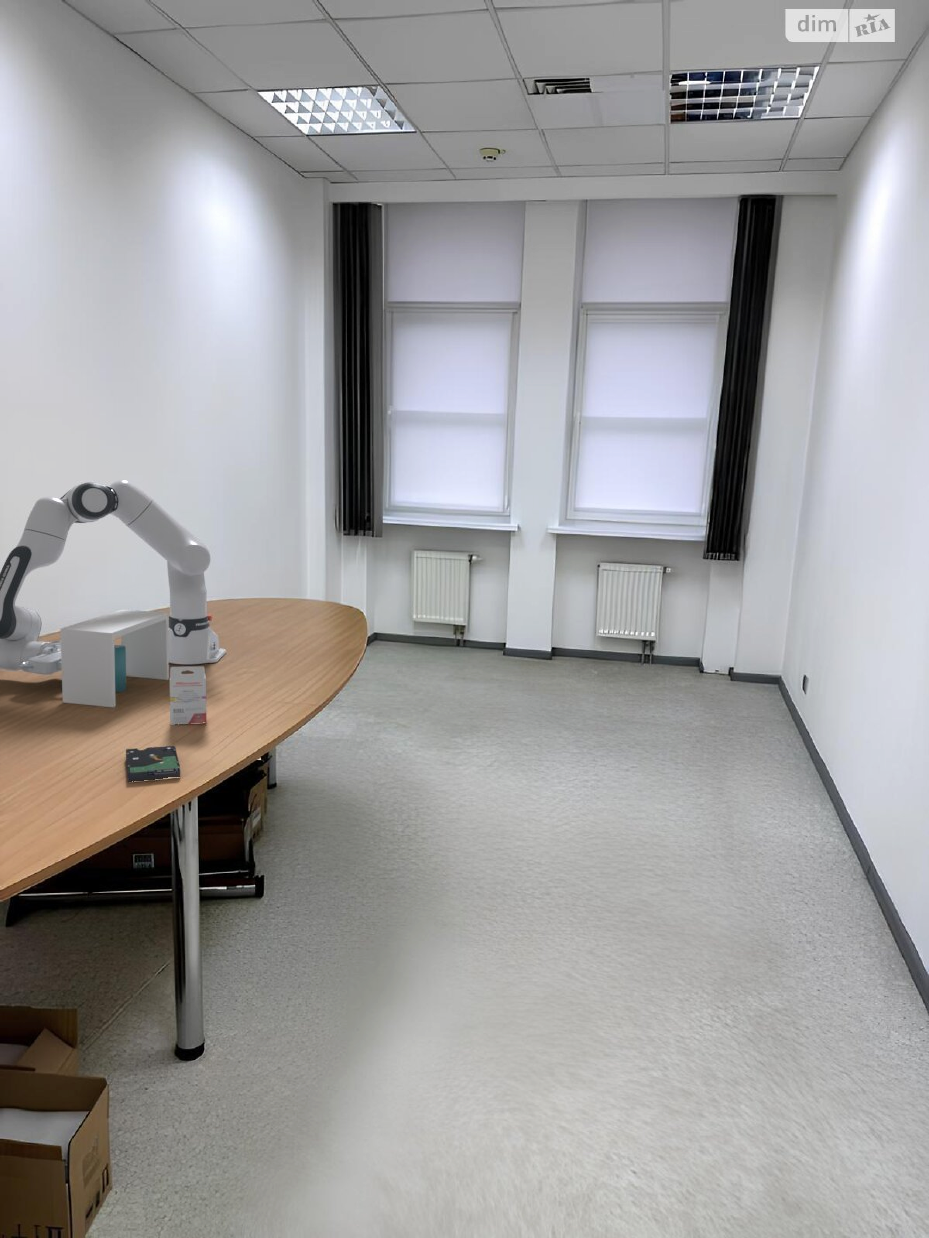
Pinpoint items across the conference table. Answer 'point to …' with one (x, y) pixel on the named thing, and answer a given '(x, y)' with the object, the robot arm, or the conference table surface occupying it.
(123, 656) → the teal cylinder
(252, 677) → the conference table surface
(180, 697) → the ink cartridge box
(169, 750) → the disk drive
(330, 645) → the conference table surface
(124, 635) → the arch
